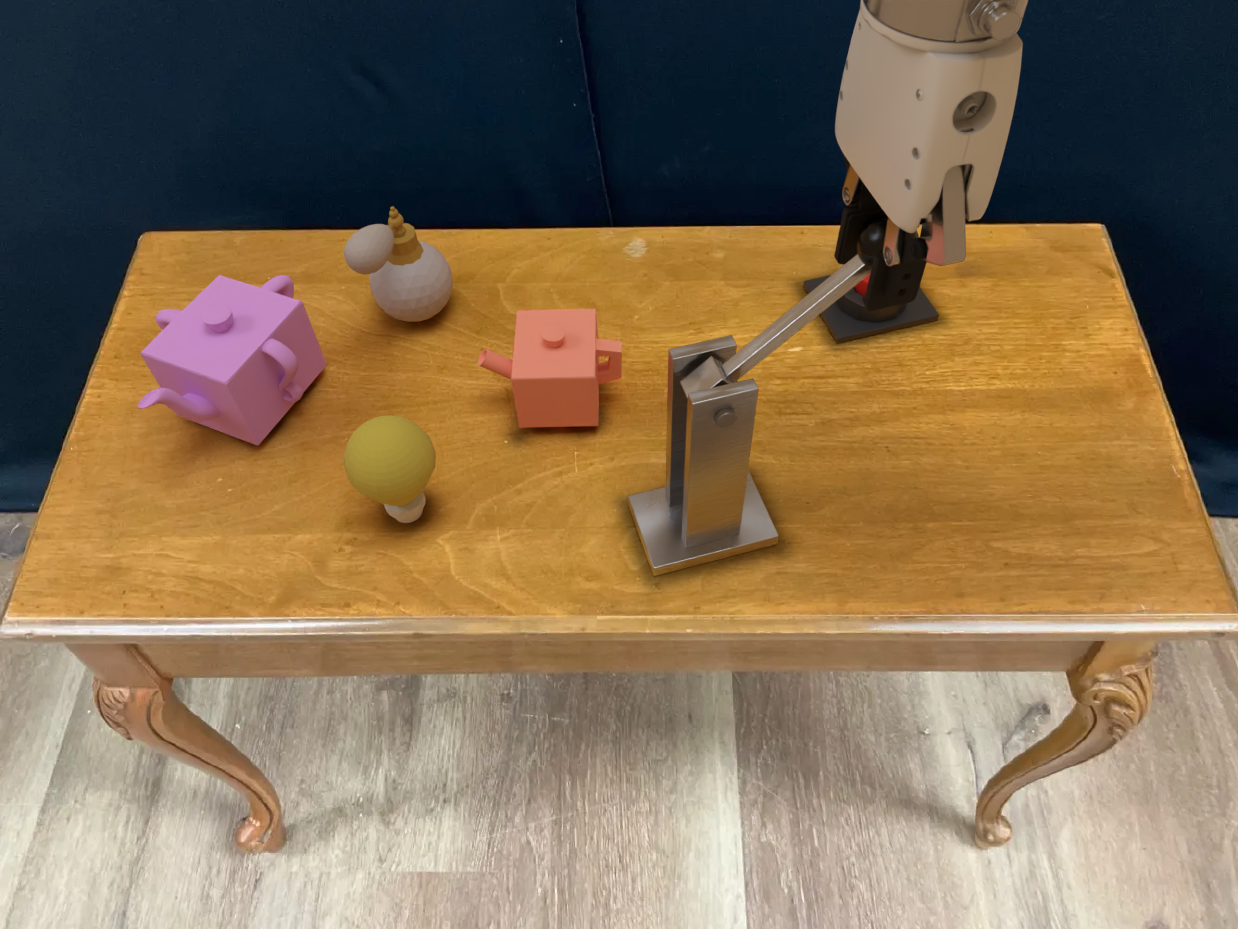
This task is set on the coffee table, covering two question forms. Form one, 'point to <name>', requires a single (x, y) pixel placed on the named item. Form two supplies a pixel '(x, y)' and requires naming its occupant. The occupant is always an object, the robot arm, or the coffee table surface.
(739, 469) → the lever stand
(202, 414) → the teapot
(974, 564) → the coffee table surface
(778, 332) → the lever
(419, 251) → the perfume bottle
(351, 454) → the light bulb
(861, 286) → the button
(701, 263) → the coffee table surface
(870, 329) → the button block
